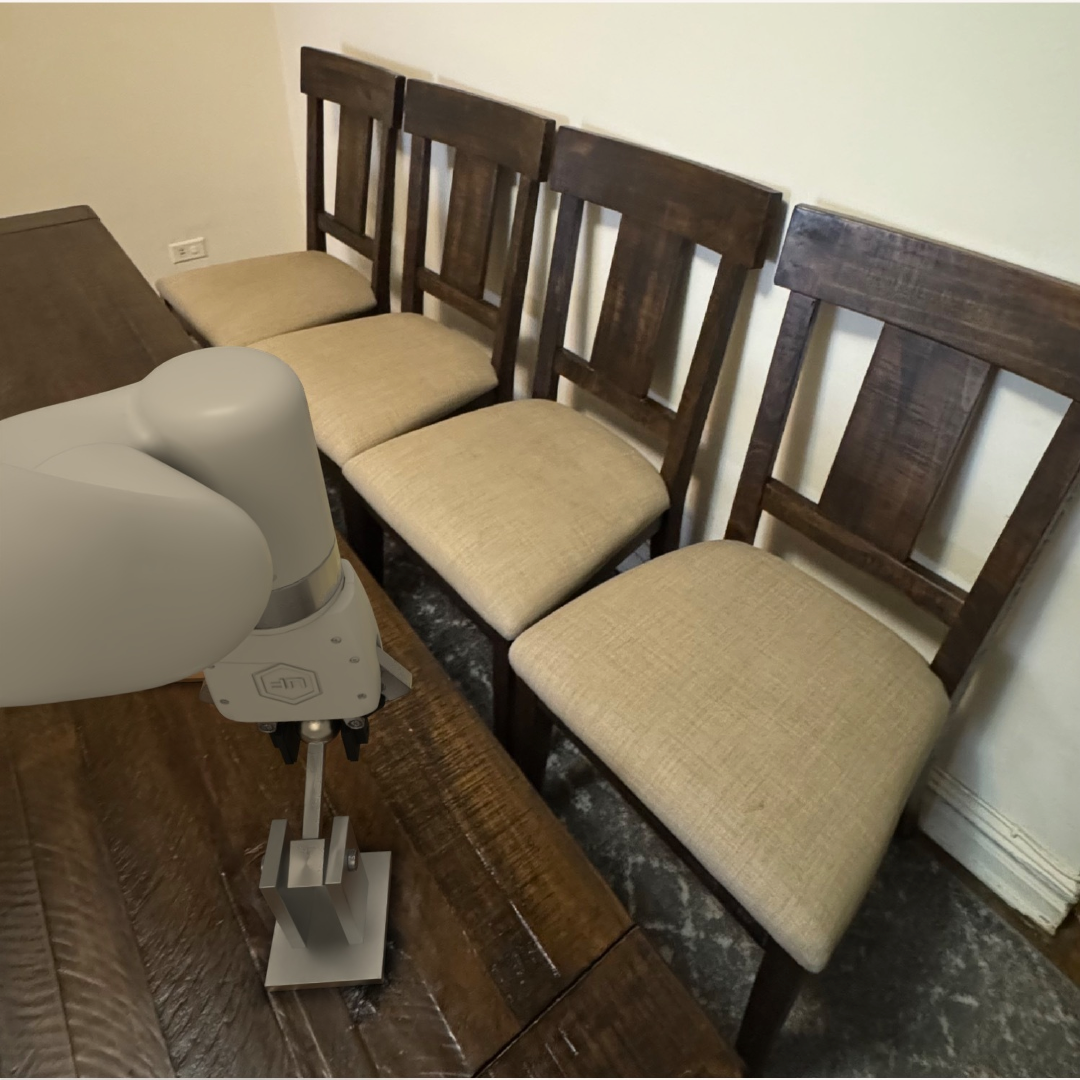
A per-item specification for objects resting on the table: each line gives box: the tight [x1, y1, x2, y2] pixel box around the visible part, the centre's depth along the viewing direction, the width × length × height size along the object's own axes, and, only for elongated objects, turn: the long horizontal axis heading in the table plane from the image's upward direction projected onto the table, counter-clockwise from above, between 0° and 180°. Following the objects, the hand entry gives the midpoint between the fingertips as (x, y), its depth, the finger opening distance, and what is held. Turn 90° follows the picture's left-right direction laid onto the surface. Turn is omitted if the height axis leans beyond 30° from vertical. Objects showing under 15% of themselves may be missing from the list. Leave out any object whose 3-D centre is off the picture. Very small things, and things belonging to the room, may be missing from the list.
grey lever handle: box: [287, 719, 342, 888], centre depth 50 cm, size 12×3×3 cm, turn 4°
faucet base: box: [258, 815, 393, 992], centre depth 51 cm, size 9×8×12 cm
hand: (324, 743), depth 54 cm, fingers open, 3 cm apart
